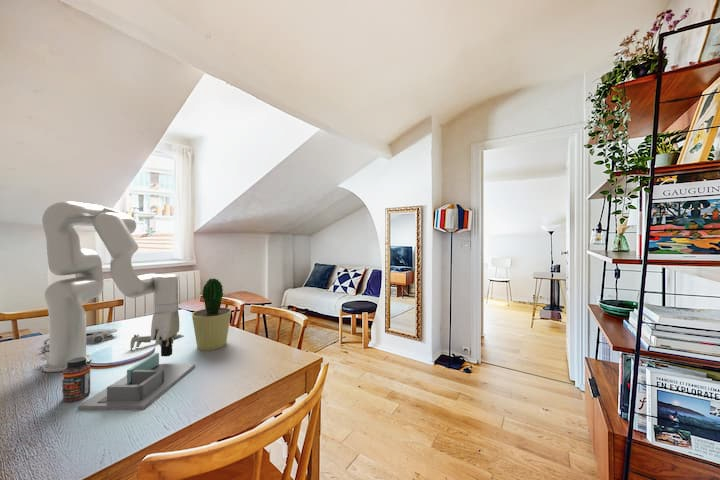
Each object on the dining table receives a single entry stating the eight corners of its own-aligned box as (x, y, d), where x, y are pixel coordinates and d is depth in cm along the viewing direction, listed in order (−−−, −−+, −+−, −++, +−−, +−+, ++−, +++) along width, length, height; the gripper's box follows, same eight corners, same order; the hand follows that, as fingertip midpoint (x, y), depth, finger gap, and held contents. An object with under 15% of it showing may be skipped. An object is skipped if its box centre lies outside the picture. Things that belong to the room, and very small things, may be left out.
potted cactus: (187, 344, 125) (188, 276, 125) (224, 336, 136) (225, 273, 135) (196, 355, 114) (196, 281, 114) (236, 346, 124) (236, 277, 124)
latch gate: (127, 382, 90) (127, 370, 90) (155, 363, 103) (155, 353, 103) (130, 382, 90) (130, 370, 90) (158, 363, 103) (158, 353, 103)
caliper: (131, 350, 119) (131, 335, 119) (130, 350, 119) (130, 335, 119) (184, 336, 136) (184, 323, 135) (183, 336, 136) (183, 323, 136)
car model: (41, 346, 122) (41, 335, 122) (116, 333, 139) (116, 323, 139) (39, 354, 114) (39, 342, 114) (118, 339, 131) (118, 328, 131)
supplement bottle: (58, 405, 81) (57, 365, 80) (67, 394, 86) (67, 357, 86) (86, 399, 83) (86, 361, 83) (93, 389, 89) (93, 353, 88)
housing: (77, 409, 79) (77, 391, 79) (145, 366, 104) (145, 353, 104) (143, 409, 79) (143, 391, 79) (195, 366, 105) (195, 353, 104)
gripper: (169, 302, 115) (169, 347, 116) (141, 312, 100) (142, 364, 101) (188, 302, 115) (188, 347, 116) (163, 312, 101) (163, 364, 101)
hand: (166, 355), depth 108 cm, fingers closed
